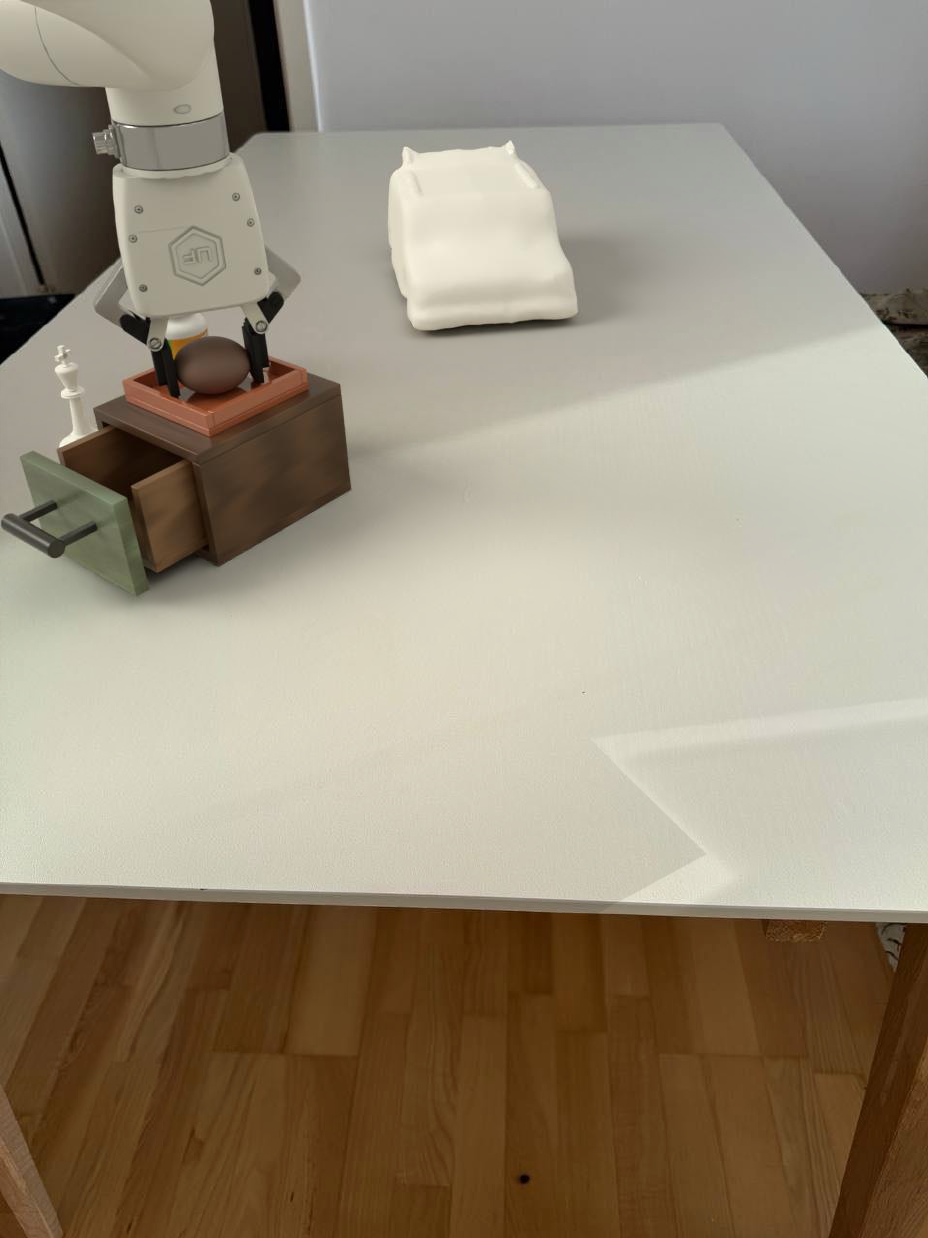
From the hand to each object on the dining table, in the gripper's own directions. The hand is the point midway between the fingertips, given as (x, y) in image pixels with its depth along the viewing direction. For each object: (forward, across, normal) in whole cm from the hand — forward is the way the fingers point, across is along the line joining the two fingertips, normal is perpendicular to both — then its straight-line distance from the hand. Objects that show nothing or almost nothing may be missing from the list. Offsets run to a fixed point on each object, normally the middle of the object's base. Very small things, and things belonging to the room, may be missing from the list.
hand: (215, 382), depth 86 cm
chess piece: (+11, -11, +15) cm, 22 cm away
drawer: (+10, -8, -5) cm, 14 cm away
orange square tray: (+1, 0, 0) cm, 1 cm away
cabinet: (+11, 0, 0) cm, 11 cm away
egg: (+1, 0, 0) cm, 1 cm away
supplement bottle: (+11, 0, +24) cm, 27 cm away
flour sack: (+11, +37, +39) cm, 55 cm away
